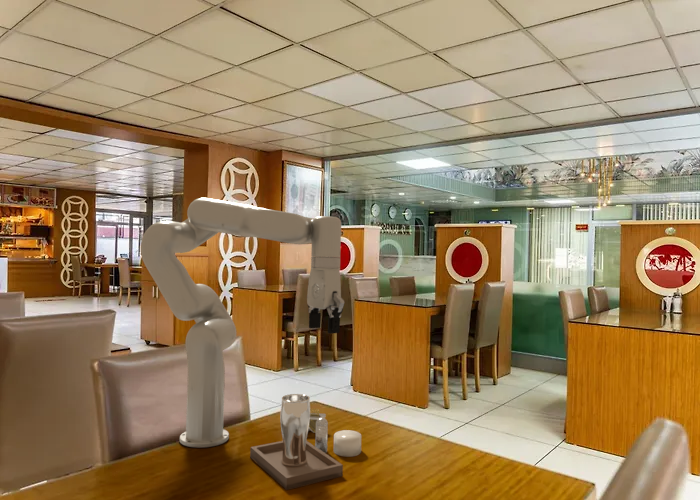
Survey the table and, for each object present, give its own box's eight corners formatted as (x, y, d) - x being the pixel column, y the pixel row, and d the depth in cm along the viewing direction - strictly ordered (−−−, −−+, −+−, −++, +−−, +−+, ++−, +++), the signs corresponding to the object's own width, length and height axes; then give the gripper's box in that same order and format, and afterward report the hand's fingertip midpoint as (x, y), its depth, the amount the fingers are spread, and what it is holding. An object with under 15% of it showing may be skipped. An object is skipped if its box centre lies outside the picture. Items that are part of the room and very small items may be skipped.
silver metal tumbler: (274, 465, 119) (276, 400, 119) (284, 454, 125) (286, 392, 125) (303, 469, 117) (305, 403, 117) (312, 457, 124) (314, 395, 124)
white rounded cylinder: (333, 456, 128) (333, 440, 128) (334, 444, 135) (334, 429, 135) (361, 457, 128) (361, 441, 128) (360, 445, 135) (361, 430, 135)
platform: (336, 442, 138) (337, 417, 138) (270, 438, 140) (271, 414, 140) (340, 427, 150) (341, 405, 150) (279, 424, 152) (280, 402, 152)
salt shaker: (312, 450, 131) (313, 417, 131) (323, 448, 133) (324, 415, 133) (318, 454, 128) (319, 420, 129) (329, 452, 130) (330, 418, 130)
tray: (250, 457, 125) (250, 447, 126) (301, 447, 133) (301, 437, 133) (286, 490, 109) (286, 478, 109) (342, 476, 116) (342, 465, 116)
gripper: (297, 263, 138) (295, 326, 138) (330, 265, 124) (328, 336, 124) (321, 263, 142) (319, 325, 142) (356, 265, 128) (354, 334, 128)
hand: (323, 330), depth 133 cm, fingers open, 9 cm apart
